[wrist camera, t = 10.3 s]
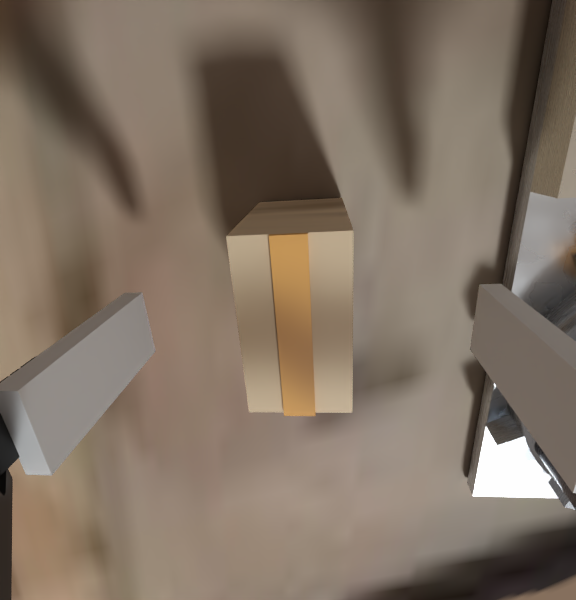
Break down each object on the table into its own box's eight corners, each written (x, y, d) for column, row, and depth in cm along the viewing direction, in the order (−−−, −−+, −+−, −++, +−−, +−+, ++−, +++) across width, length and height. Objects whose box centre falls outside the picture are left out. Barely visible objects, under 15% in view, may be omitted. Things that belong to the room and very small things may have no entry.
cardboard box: (259, 202, 18) (224, 237, 12) (341, 197, 18) (354, 232, 11) (271, 328, 21) (248, 415, 14) (342, 327, 20) (352, 416, 14)
